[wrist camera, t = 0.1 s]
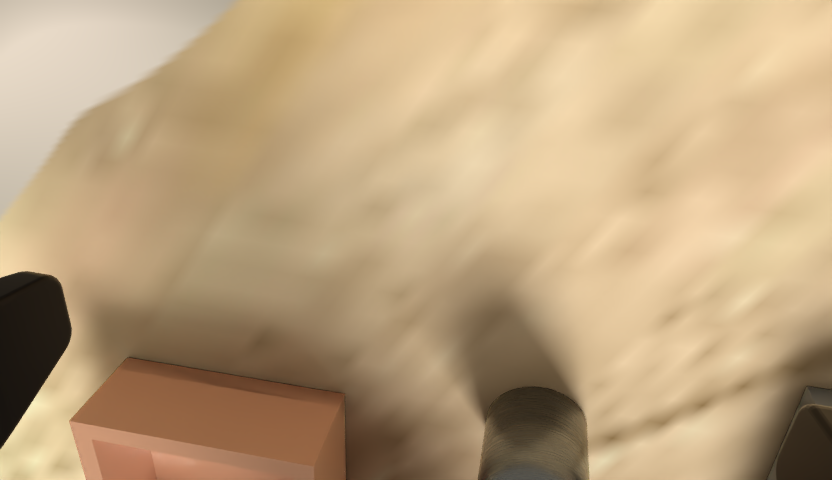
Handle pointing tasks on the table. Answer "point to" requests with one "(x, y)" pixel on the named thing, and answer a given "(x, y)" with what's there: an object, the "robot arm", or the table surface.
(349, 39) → the table surface
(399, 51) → the table surface
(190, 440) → the bin
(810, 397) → the tray
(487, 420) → the battery cell
